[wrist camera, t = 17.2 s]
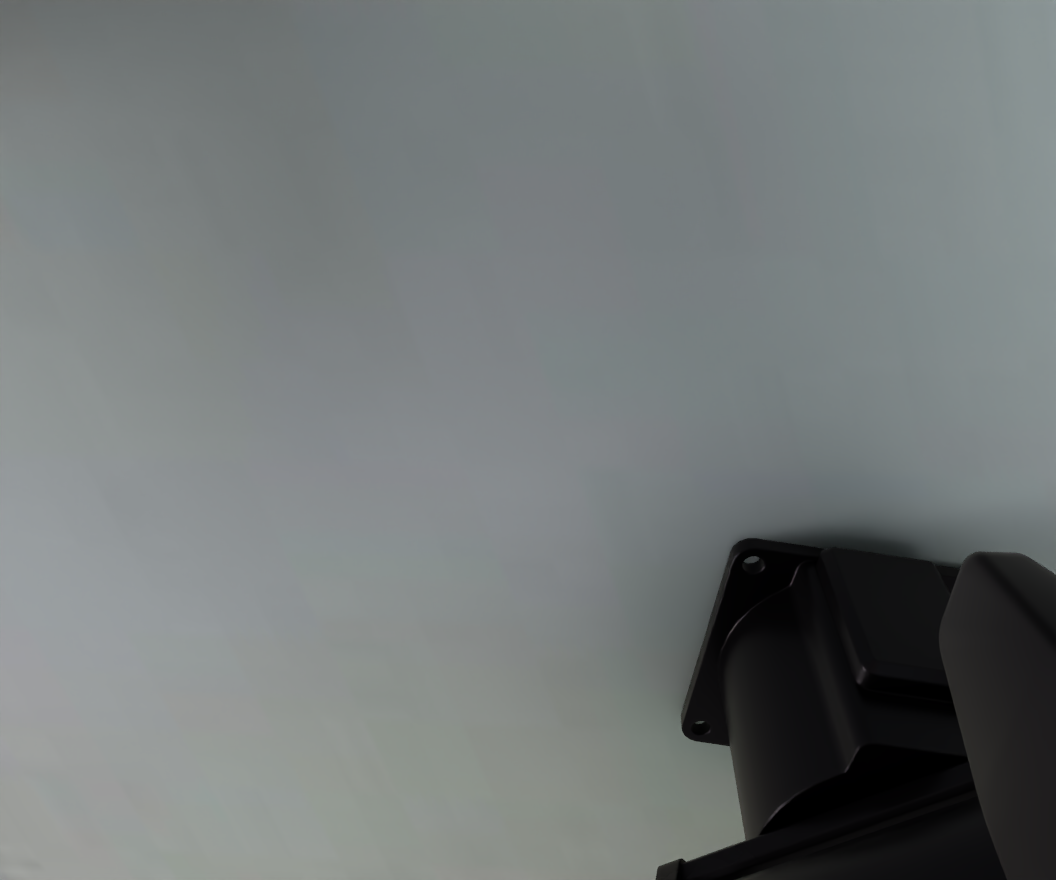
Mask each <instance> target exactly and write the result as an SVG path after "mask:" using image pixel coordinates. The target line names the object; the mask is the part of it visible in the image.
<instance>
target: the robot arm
mask: <svg viewBox="0 0 1056 880" xmlns="http://www.w3.org/2000/svg"><path fill="white" fill-rule="evenodd" d="M751 556H757V557H759V558H760V559H759V561H757V562H755V563H745V562H744V560H745V559H747V558H748V557H751ZM698 721H704V723H702V724H696V722H698ZM681 724H682V731H683V733H684V735H685V736H686V737H688V738H689V739H691V740H694V741H699V742H705V743H712V744H719V745H726V746H730V748H731V754H732V760H733V766H734V772H735V778H736V784H737V790H738V796H739V802H740V808H741V814H742V820H743V826H744V833H745V839H746V841H743V842H740V843H737V844H734V845H732V846H729V847H726V848H723V849H721V850H718V851H715V852H712V853H709V854H707V855H704V856H701V857H698V858H696V859H693V860H690V861H687V862H686V861H685V860H683V859H678V860H675V861H673V862H670V863H667V864H664V865H662V866H659V867H658V870H657V876H656V880H1056V575H1055V574H1054V573H1052V572H1051V571H1049V570H1048V569H1046V568H1045V567H1043V566H1041V565H1040V564H1038V563H1037V562H1035V561H1034V560H1032V559H1031V558H1029V557H1027V556H1025V555H1023V554H1020V553H1011V552H975V553H972V554H970V555H969V556H968V557H967V558H966V559H965V560H964V562H963V564H962V566H961V568H960V569H958V568H951V567H944V566H938V565H934V564H933V563H932V562H929V561H923V560H917V559H910V558H903V557H897V556H890V555H883V554H877V553H870V552H863V551H857V550H850V549H843V548H837V547H832V548H828V549H824V548H817V547H811V546H804V545H797V544H791V543H784V542H777V541H771V540H764V539H757V538H747V539H745V540H742V541H739V542H738V543H737V544H736V545H734V546H733V548H732V550H731V552H730V555H729V558H728V561H727V565H726V568H725V571H724V575H723V578H722V581H721V585H720V588H719V591H718V594H717V598H716V601H715V604H714V608H713V611H712V614H711V618H710V621H709V624H708V627H707V631H706V634H705V637H704V641H703V644H702V647H701V651H700V654H699V657H698V660H697V664H696V667H695V670H694V674H693V677H692V680H691V684H690V687H689V690H688V693H687V697H686V700H685V703H684V707H683V710H682V713H681Z"/></svg>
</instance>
